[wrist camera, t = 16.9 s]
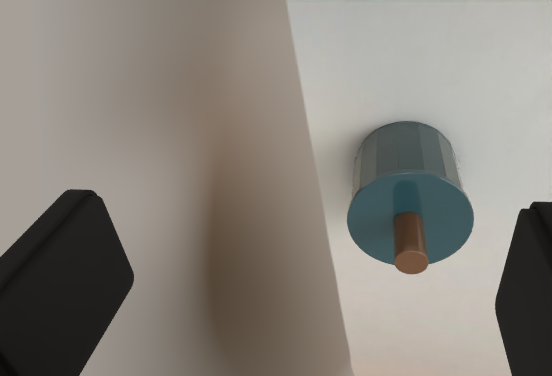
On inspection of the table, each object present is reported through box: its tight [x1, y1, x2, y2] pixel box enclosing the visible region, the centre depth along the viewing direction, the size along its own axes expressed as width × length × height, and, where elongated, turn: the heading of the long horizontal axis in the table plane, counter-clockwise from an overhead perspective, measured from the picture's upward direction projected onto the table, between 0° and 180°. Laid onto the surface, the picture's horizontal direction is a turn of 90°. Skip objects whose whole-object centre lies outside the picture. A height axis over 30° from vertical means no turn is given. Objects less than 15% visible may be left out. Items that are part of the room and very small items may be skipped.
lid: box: [347, 169, 474, 274], centre depth 34 cm, size 10×10×6 cm
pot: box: [352, 122, 464, 198], centre depth 39 cm, size 9×9×8 cm
